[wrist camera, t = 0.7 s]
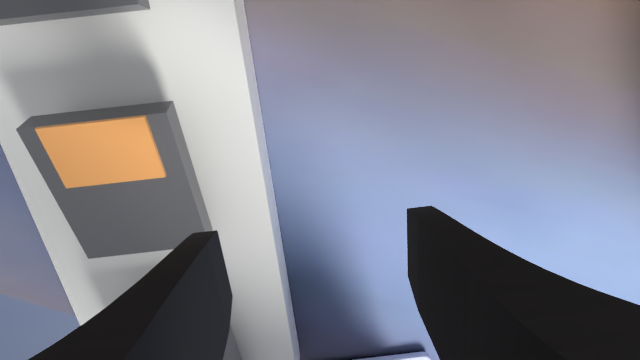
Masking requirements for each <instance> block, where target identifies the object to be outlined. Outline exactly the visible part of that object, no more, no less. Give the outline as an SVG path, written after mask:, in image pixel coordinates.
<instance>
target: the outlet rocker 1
mask: <svg viewBox="0 0 640 360" xmlns="http://www.w3.org/2000/svg"><path fill="white" fill-rule="evenodd" d="M141 10H150V5H149V0H0V26H2V25H12V24H21V23H30V22H39V21H48V20H58V19H67V18H76V17H85V16H95V15H104V14H113V13H122V12H131V11H141Z"/></svg>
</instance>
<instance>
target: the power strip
mask: <svg viewBox="0 0 640 360" xmlns="http://www.w3.org/2000/svg"><path fill="white" fill-rule="evenodd" d="M149 5H150V10H141V11H131V12H122V13H113V14H104V15H95V16H85V17H76V18H67V19H58V20H48V21H39V22H30V23H21V24H12V25H2V26H0V144H1V146H2V148H3V151H4V153H5V155H6V158H7V160H8V162H9V164H10V167H11V169H12V171H13V173H14V176H15V178H16V180H17V183H18V185H19V187H20V189H21V192H22V194H23V196H24V199H25V201H26V203H27V205H28V208H29V210H30V212H31V215H32V217H33V219H34V221H35V224H36V226H37V228H38V230H39V233H40V235H41V237H42V240H43V242H44V244H45V246H46V249H47V251H48V253H49V256H50V258H51V260H52V262H53V265H54V267H55V269H56V271H57V274H58V276H59V278H60V281H61V283H62V285H63V287H64V290H65V292H66V294H67V297H68V299H69V301H70V303H71V306H72V308H73V310H74V312H75V315H76V317H77V319H78V322H79V324H80V326H81V325H83V324H84V323H86V322H87V321H88V320H90V319H91V318H92V317H94V316H95V315H96V314H98V313H99V312H100V311H102V310H103V309H104V308H106V307H107V306H108V305H109V304H111V303H112V302H113V301H114V300H116V299H117V298H118V297H119V296H120V295H122V294H123V293H124V292H125V291H127V290H128V289H129V288H130V287H131V286H133V285H134V284H135V283H136V282H138V281H139V280H140V279H141V278H142V277H143V276H145V275H146V274H147V273H148V272H149V271H150V270H151V269H152V268H154V267H155V266H156V265H157V264H158V263H159V262H160V261H161V260H162V259H164V258H165V257H166V256H167V255H168V254H169V253H170V252H171V251H172V250H174V249H171V250H162V251H153V252H145V253H136V254H127V255H118V256H109V257H101V258H92V259H88V257H87V256H86V254H85V252H84V250H83V248H82V247H81V245H80V243H79V241H78V239H77V238H76V236H75V234H74V232H73V231H72V229H71V227H70V225H69V223H68V222H67V220H66V218H65V216H64V214H63V213H62V211H61V209H60V207H59V206H58V204H57V202H56V200H55V198H54V197H53V195H52V193H51V191H50V189H49V188H48V186H47V184H46V182H45V181H44V179H43V177H42V175H41V173H40V172H39V170H38V168H37V166H36V164H35V163H34V161H33V159H32V157H31V156H30V154H29V152H28V150H27V148H26V147H25V145H24V143H23V141H22V139H21V138H20V136H19V134H18V132H17V131H16V129H17V128H18V127H19V126H20V125H21V124H23V123H24V122H25V121H26V120H27V119H28V118H30V117H31V116H38V115H47V114H56V113H65V112H74V111H83V110H92V109H101V108H110V107H119V106H128V105H137V104H146V103H156V102H165V101H173V102H174V106H175V109H176V112H177V115H178V119H179V122H180V125H181V128H182V132H183V135H184V138H185V141H186V145H187V148H188V151H189V154H190V158H191V161H192V164H193V167H194V170H195V174H196V177H197V180H198V183H199V187H200V190H201V193H202V196H203V200H204V203H205V206H206V209H207V213H208V216H209V219H210V222H211V226H212V229H213V230H212V231H215V230H217V231H218V235H219V239H220V244H221V248H222V252H223V256H224V261H225V265H226V269H227V274H228V278H229V282H230V286H231V291H232V295H233V298H232V309H231V320H230V325H231V328H232V331H233V334H234V337H235V340H236V343H237V346H238V349H239V352H240V355H241V358H242V360H300V350H299V344H298V338H297V331H296V325H295V319H294V313H293V306H292V300H291V294H290V288H289V282H288V275H287V269H286V263H285V257H284V250H283V244H282V238H281V232H280V226H279V219H278V213H277V207H276V201H275V194H274V188H273V182H272V176H271V170H270V163H269V157H268V151H267V145H266V138H265V132H264V126H263V120H262V113H261V107H260V101H259V95H258V89H257V82H256V76H255V70H254V64H253V57H252V51H251V45H250V39H249V33H248V26H247V20H246V14H245V8H244V1H243V0H149Z"/></svg>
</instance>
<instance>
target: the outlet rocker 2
mask: <svg viewBox="0 0 640 360" xmlns="http://www.w3.org/2000/svg"><path fill="white" fill-rule="evenodd" d="M16 131H17V132H18V134H19V136H20V138H21V139H22V141H23V143H24V145H25V147H26V148H27V150H28V152H29V154H30V156H31V157H32V159H33V161H34V163H35V164H36V166H37V168H38V170H39V172H40V173H41V175H42V177H43V179H44V181H45V182H46V184H47V186H48V188H49V189H50V191H51V193H52V195H53V197H54V198H55V200H56V202H57V204H58V206H59V207H60V209H61V211H62V213H63V214H64V216H65V218H66V220H67V222H68V223H69V225H70V227H71V229H72V231H73V232H74V234H75V236H76V238H77V239H78V241H79V243H80V245H81V247H82V248H83V250H84V252H85V254H86V256H87V257H88V259H92V258H101V257H109V256H118V255H127V254H136V253H145V252H153V251H162V250H171V249H175V248H176V247H177V246H178V245H179V244H180V243H181V242H182V241H184V240H185V239H186V238H187V237H188V236H190V235H191V234H192V233H197V232H206V231H212V230H213V229H212V226H211V222H210V219H209V216H208V213H207V209H206V206H205V203H204V200H203V196H202V193H201V190H200V187H199V183H198V180H197V177H196V174H195V170H194V167H193V164H192V161H191V158H190V154H189V151H188V148H187V145H186V141H185V138H184V135H183V132H182V128H181V125H180V122H179V119H178V115H177V112H176V109H175V106H174V102H173V101H165V102H156V103H146V104H137V105H128V106H119V107H110V108H101V109H92V110H83V111H74V112H65V113H56V114H47V115H38V116H31V117H30V118H28V119H27V120H26V121H25V122H24V123H23V124H21V125H20V126H19V127H18V128H17V129H16Z"/></svg>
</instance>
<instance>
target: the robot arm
mask: <svg viewBox="0 0 640 360" xmlns="http://www.w3.org/2000/svg"><path fill="white" fill-rule="evenodd" d="M407 243H408V278H409V281H410V285H411V288H412V291H413V295H414V298H415V301H416V305H417V308H418V311H419V313H420V315H421V318H422V320H423V322H424V325H425V327H426V329H427V331H428V334H429V336H430V338H431V340H432V343H433V345H434V347H435V349H436V351H437V354H438V356H439V358H440V360H640V305H637V304H634V303H631V302H628V301H625V300H622V299H620V298H617V297H614V296H611V295H608V294H605V293H602V292H599V291H597V290H594V289H591V288H589V287H586V286H583V285H581V284H578V283H576V282H574V281H571V280H569V279H566V278H564V277H562V276H559V275H557V274H555V273H552V272H550V271H548V270H545V269H543V268H541V267H539V266H537V265H535V264H533V263H531V262H529V261H527V260H525V259H523V258H521V257H519V256H517V255H515V254H513V253H511V252H509V251H507V250H505V249H503V248H502V247H500V246H498V245H496V244H494V243H493V242H491V241H489V240H487V239H486V238H484V237H482V236H481V235H479V234H477V233H476V232H474V231H472V230H471V229H469V228H467V227H466V226H464V225H462V224H461V223H459V222H458V221H456V220H454V219H453V218H451V217H450V216H448V215H446V214H445V213H443V212H441V211H440V210H438V209H436V208H434V207H432V206H426V207H418V208H409V209H407ZM232 298H233V295H232V291H231V286H230V282H229V278H228V274H227V269H226V265H225V261H224V256H223V252H222V248H221V244H220V239H219V235H218V231H217V230H215V231H206V232H197V233H192V234H191V235H190V236H188V237H187V238H186V239H185V240H184V241H182V242H181V243H180V244H179V245H178V246H177V247H176V248H175V249H174V250H172V251H171V252H170V253H169V254H168V255H167V256H166V257H165V258H164V259H162V260H161V261H160V262H159V263H158V264H157V265H156V266H155V267H154V268H152V269H151V270H150V271H149V272H148V273H147V274H146V275H145V276H143V277H142V278H141V279H140V280H139V281H138V282H136V283H135V284H134V285H133V286H131V287H130V288H129V289H128V290H127V291H125V292H124V293H123V294H122V295H120V296H119V297H118V298H117V299H116V300H114V301H113V302H112V303H111V304H109V305H108V306H107V307H106V308H104V309H103V310H102V311H100V312H99V313H98V314H96V315H95V316H94V317H92V318H91V319H90V320H88V321H87V322H86V323H84V324H83V325H81V326H80V327H78V328H77V329H75V330H74V331H72V332H71V333H70V334H68V335H67V336H65V337H64V338H62V339H61V340H59V341H58V342H56V343H55V344H53V345H52V346H50V347H49V348H47V349H45V350H43V351H42V352H40V353H39V354H37V355H35V356H34V357H32V358H30V359H29V360H223V357H224V352H225V348H226V344H227V339H228V335H229V329H230V320H231V309H232ZM354 360H430V357H429V355H428V354H427V353H426V352H414V353H406V354H397V355H389V356H380V357H372V358H363V359H354Z"/></svg>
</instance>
